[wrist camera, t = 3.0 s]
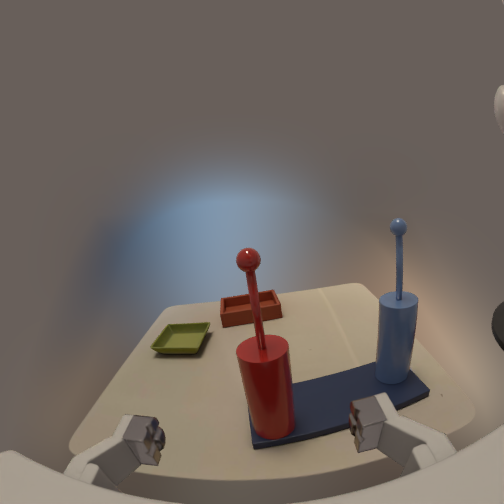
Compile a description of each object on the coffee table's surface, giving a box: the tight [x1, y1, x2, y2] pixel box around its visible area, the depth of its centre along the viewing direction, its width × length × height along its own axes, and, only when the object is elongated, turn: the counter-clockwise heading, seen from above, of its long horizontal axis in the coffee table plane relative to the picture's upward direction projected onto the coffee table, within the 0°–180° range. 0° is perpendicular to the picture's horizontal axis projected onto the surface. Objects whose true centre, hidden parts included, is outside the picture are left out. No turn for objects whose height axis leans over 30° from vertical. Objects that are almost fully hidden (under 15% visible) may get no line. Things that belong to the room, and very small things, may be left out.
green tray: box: [151, 322, 210, 354], centre depth 46 cm, size 9×9×2 cm
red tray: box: [220, 290, 282, 327], centre depth 55 cm, size 11×8×3 cm
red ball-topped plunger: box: [236, 248, 296, 440], centre depth 23 cm, size 4×4×18 cm
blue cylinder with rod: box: [375, 218, 418, 384], centre depth 26 cm, size 4×4×18 cm
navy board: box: [248, 362, 430, 449], centre depth 27 cm, size 20×9×1 cm, turn 95°
